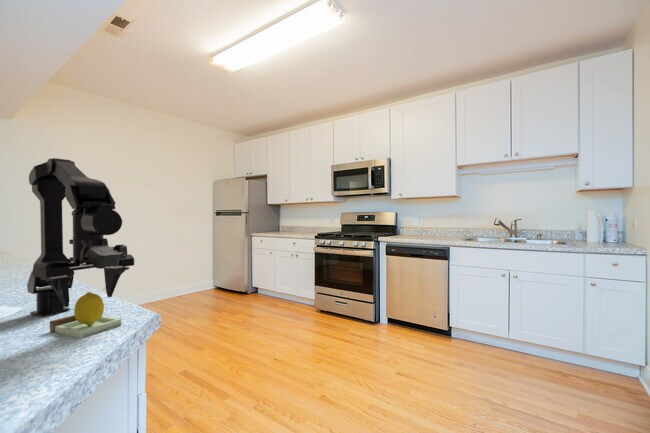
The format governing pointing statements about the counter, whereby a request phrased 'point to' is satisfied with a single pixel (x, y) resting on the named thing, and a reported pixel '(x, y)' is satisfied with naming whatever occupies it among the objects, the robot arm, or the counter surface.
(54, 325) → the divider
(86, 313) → the lemon
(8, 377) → the counter surface
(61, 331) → the dish
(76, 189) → the robot arm
